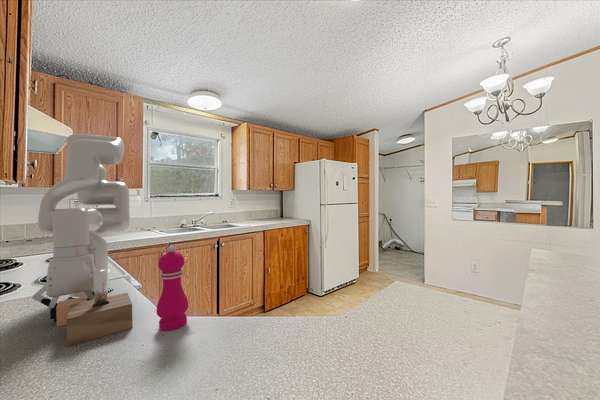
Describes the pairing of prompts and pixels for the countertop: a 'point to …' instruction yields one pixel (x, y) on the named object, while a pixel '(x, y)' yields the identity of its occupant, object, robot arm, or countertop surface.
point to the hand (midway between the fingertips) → (72, 316)
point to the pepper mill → (172, 292)
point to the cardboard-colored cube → (66, 309)
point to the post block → (98, 319)
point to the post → (100, 287)
